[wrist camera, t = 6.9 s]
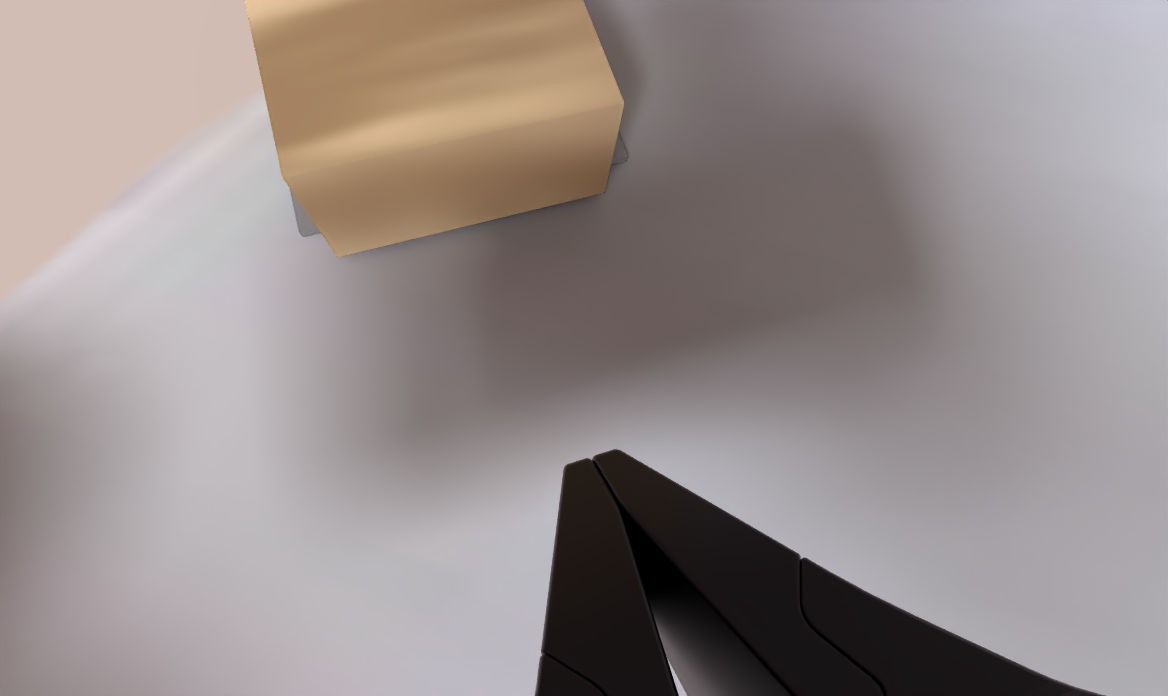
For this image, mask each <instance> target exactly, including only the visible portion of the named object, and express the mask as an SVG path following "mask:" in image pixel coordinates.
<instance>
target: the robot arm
mask: <svg viewBox="0 0 1168 696" xmlns="http://www.w3.org/2000/svg"><path fill="white" fill-rule="evenodd" d="M541 654H542V656H541V657H540V661H539V669H538V677H537V685H536V691H535V696H679V695H678V692H677V689H676V686H675V682H674V679H673V676H672V673H671V670H670V666H669V663H668V660H669V662H670V664H671V666H672V668H673V669H674V671H675V673H676V675H677V677H678V679H679V681H680V683H681V684H682V686H683V688H684V690H685V692H686V694H687V696H1105V695H1101V694H1097V693H1094V692H1090V691H1087V690H1083V689H1080V688H1077V687H1074V686H1071V685H1068V684H1065V683H1063V682H1060V681H1057V680H1054V679H1052V678H1050V677H1047V676H1045V675H1043V674H1040V673H1038V672H1036V671H1033V670H1031V669H1029V668H1027V667H1025V666H1022V665H1020V664H1018V663H1016V662H1014V661H1012V660H1009V659H1007V658H1005V657H1003V656H1001V655H999V654H997V653H994V652H992V651H990V650H988V649H986V648H984V647H981V646H979V645H977V644H975V643H973V642H971V641H969V640H966V639H964V638H962V637H960V636H958V635H956V634H953V633H951V632H949V631H947V630H945V629H943V628H940V627H938V626H936V625H934V624H932V623H930V622H928V621H925V620H923V619H921V618H919V617H917V616H915V615H913V614H911V613H909V612H907V611H904V610H902V609H900V608H898V607H896V606H894V605H892V604H890V603H888V602H886V601H884V600H882V599H880V598H878V597H876V596H874V595H872V594H870V593H868V592H866V591H864V590H862V589H861V588H859V587H857V586H855V585H853V584H851V583H850V582H848V581H846V580H844V579H842V578H840V577H839V576H837V575H835V574H833V573H831V572H830V571H828V570H826V569H824V568H823V567H821V566H819V565H817V564H816V563H814V562H812V561H811V560H809V559H807V558H802V559H801V556H800V555H799V554H798V553H796V552H795V551H793V550H791V549H789V548H788V547H786V546H784V545H783V544H781V543H779V542H777V541H776V540H774V539H772V538H771V537H769V536H767V535H765V534H764V533H762V532H760V531H758V530H757V529H755V528H753V527H752V526H750V525H748V524H746V523H745V522H743V521H741V520H740V519H738V518H736V517H734V516H733V515H731V514H729V513H727V512H726V511H724V510H722V509H721V508H719V507H717V506H715V505H714V504H712V503H710V502H709V501H707V500H705V499H703V498H702V497H700V496H698V495H696V494H695V493H693V492H691V491H690V490H688V489H686V488H684V487H683V486H681V485H679V484H678V483H676V482H674V481H672V480H671V479H669V478H667V477H665V476H664V475H662V474H660V473H659V472H657V471H655V470H653V469H652V468H650V467H648V466H647V465H645V464H643V463H641V462H640V461H638V460H636V459H634V458H633V457H631V456H629V455H628V454H626V453H624V452H622V451H621V450H617V449H614V450H611V451H607V452H604V453H601V454H598V455H595V456H594V457H593V459H592V460H591V459H588V458H586V459H582V460H579V461H576V462H573V463H570V464H567V465H566V466H565V467H564V471H563V479H562V487H561V495H560V503H559V511H558V519H557V527H556V535H555V543H554V551H553V559H552V567H551V575H550V583H549V591H548V599H547V607H546V616H545V624H544V632H543V640H542V648H541ZM666 656H667V657H666ZM667 658H668V660H667Z"/></svg>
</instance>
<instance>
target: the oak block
mask: <svg viewBox="0 0 1168 696" xmlns="http://www.w3.org/2000/svg"><path fill="white" fill-rule="evenodd" d="M245 4H246V9H247V14H248V19H249V23H250V28H251V32H252V37H253V42H254V47H255V51H256V55H257V61H258V65H259V70H260V75H261V79H262V84H263V89H264V93H265V98H266V103H267V107H268V112H269V117H270V121H271V126H272V131H273V135H274V140H275V145H276V149H277V154H278V159H279V163H280V168H281V173H282V177H283V179H284V180H285V182H286V183H287V184H288V186H289V187H290V189H291V190H292V192H293V193H294V195H295V196H296V197H297V199H298V200H299V202H300V203H301V205H302V206H303V208H304V209H305V210H306V212H307V213H308V215H309V216H310V218H311V219H312V221H313V222H314V223H315V225H316V226H317V228H318V229H319V231H320V232H321V234H322V235H323V237H324V238H325V239H326V241H327V242H328V244H329V245H330V247H331V248H332V250H333V251H334V252H335V254H336V255H337V257H341V256H346V255H350V254H354V253H358V252H362V251H366V250H370V249H374V248H379V247H383V246H387V245H391V244H395V243H399V242H403V241H407V240H412V239H416V238H420V237H424V236H428V235H432V234H436V233H440V232H445V231H449V230H453V229H457V228H461V227H465V226H469V225H474V224H478V223H482V222H486V221H490V220H494V219H498V218H502V217H507V216H511V215H515V214H519V213H523V212H527V211H531V210H535V209H540V208H544V207H548V206H552V205H556V204H560V203H564V202H569V201H573V200H577V199H581V198H585V197H589V196H593V195H597V194H602V193H605V190H606V185H607V181H608V176H609V172H610V167H611V163H612V158H613V154H614V149H615V145H616V140H617V135H618V131H619V126H620V122H621V117H622V113H623V108H624V104H625V103H624V100H623V98H622V95H621V93H620V90H619V88H618V85H617V83H616V80H615V78H614V75H613V73H612V70H611V68H610V65H609V63H608V60H607V58H606V55H605V53H604V50H603V48H602V45H601V43H600V41H599V38H598V36H597V33H596V31H595V28H594V26H593V23H592V21H591V18H590V16H589V13H588V11H587V8H586V6H585V3H584V1H583V0H245Z"/></svg>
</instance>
